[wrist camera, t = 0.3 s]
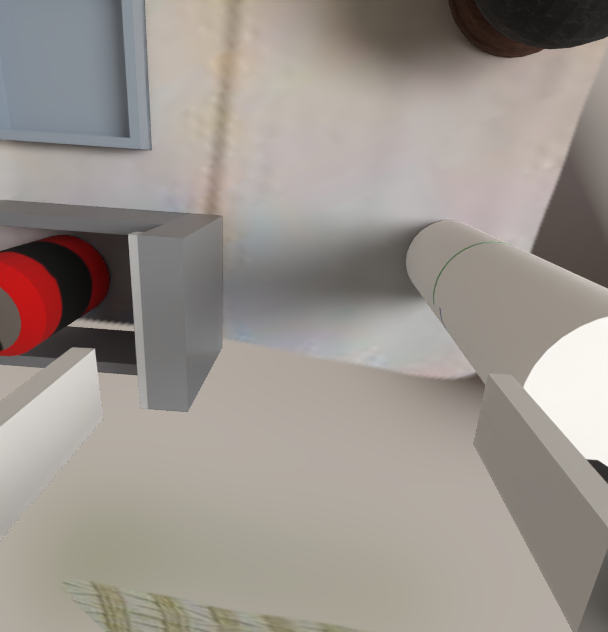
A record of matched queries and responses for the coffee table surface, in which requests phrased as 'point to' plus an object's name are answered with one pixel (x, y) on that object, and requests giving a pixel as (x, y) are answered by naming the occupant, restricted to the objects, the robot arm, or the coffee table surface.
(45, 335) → the soda can
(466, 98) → the coffee table surface
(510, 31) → the black ball on stand
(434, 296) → the cylindrical container
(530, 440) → the robot arm
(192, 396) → the gray open box
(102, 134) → the tray
